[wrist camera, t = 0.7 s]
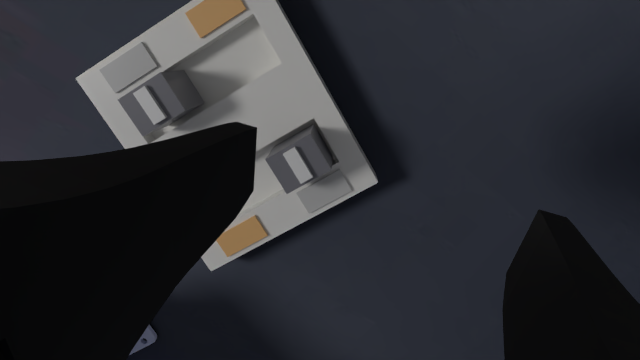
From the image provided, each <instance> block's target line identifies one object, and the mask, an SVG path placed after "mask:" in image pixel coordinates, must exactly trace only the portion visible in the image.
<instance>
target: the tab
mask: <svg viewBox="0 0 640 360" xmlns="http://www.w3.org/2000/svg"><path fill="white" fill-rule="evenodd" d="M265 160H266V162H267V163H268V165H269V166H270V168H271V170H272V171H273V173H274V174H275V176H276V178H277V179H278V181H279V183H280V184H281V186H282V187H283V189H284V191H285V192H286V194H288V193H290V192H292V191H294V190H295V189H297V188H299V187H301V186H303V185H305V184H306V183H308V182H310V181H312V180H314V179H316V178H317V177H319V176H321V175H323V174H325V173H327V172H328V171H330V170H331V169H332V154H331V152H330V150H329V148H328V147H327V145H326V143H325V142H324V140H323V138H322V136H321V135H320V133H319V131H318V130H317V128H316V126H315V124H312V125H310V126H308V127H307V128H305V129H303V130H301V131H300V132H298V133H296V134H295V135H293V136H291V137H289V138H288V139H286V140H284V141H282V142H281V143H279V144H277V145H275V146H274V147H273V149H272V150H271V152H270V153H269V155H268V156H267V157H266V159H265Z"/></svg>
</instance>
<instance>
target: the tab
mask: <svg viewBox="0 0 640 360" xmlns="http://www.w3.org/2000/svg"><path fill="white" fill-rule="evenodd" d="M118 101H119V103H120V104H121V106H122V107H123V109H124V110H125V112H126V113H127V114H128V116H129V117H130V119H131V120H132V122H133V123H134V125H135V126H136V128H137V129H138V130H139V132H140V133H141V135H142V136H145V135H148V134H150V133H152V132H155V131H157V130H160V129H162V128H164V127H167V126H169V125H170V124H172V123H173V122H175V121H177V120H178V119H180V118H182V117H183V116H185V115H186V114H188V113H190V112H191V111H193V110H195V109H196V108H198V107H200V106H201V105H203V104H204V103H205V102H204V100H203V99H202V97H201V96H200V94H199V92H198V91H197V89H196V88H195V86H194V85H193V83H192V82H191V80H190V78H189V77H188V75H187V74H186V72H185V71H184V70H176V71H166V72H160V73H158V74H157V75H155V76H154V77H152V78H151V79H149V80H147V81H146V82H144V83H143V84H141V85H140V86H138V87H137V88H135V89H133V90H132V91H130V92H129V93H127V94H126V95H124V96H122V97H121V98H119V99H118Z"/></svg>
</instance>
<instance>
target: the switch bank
mask: <svg viewBox="0 0 640 360" xmlns="http://www.w3.org/2000/svg"><path fill="white" fill-rule="evenodd" d="M176 70H184V71H185V72H186V74H187V75H188V77H189V78H190V80H191V82H192V83H193V85H194V86H195V88H196V89H197V91H198V92H199V94H200V96H201V97H202V99H203V100H204V102H205V103H204V104H203V105H201V106H200V107H198V108H196V109H195V110H193V111H191V112H190V113H188V114H186V115H185V116H183V117H182V118H180V119H178V120H177V121H175V122H173V123H172V124H170V125H169V126H167V127H164V128H162V129H160V130H157V131H155V132H152V133H150V134H148V135H145V136H142V135H141V133H140V132H139V130H138V129H137V128H136V126H135V125H134V123H133V122H132V120H131V119H130V117H129V116H128V114H127V113H126V112H125V110H124V109H123V107H122V106H121V104H120V103H119V101H118V99H119V98H121V97H122V96H124V95H126V94H127V93H129V92H130V91H132V90H133V89H135V88H137V87H138V86H140V85H141V84H143V83H144V82H146V81H147V80H149V79H151V78H152V77H154V76H155V75H157V74H158V73H160V72H166V71H176ZM76 80H77V81H78V83H79V84H80V86H81V87H82V88H83V90H84V91H85V93H86V94H87V96H88V97H89V98H90V100H91V101H92V103H93V104H94V105H95V107H96V108H97V110H98V111H99V113H100V114H101V115H102V117H103V118H104V120H105V121H106V123H107V124H108V125H109V127H110V128H111V130H112V131H113V133H114V134H115V135H116V137H117V138H118V140H119V141H120V142H121V144H122V145H123V147H124V148H125V149H128V148H133V147H137V146H141V145H145V144H149V143H154V142H158V141H162V140H166V139H170V138H174V137H178V136H181V135H185V134H188V133H192V132H196V131H199V130H203V129H206V128H210V127H214V126H218V125H222V124H226V123H231V122H240V123H243V124H247V125H250V126H253V127H257V140H256V157H255V175H254V191H253V192H252V194H251V195H250V197H249V199H248V200H247V202H246V203H245V205H244V207H243V208H242V210H241V211H240V212H239V214H238V215H237V217H236V218H235V219H234V221H233V222H232V223H231V224H230V225H229V226H228V227H227V229H226V230H225V231H224V232H223V233H222V234H221V235H220V237H219V238H218V239H217V240H216V241H215V242H214V243H213V244H212V246H211V247H210V248H209V249H208V250H207V251H206V252H205V253H204V254H203V256H202V257H201V258H202V259H203V261H204V262H205V263H206V265H207V266H208V268H209V269H210V271H213V270H215V269H217V268H218V267H220V266H222V265H224V264H226V263H228V262H230V261H232V260H233V259H235V258H237V257H239V256H241V255H243V254H245V253H247V252H249V251H250V250H252V249H254V248H256V247H258V246H260V245H262V244H264V243H265V242H267V241H269V240H271V239H273V238H275V237H277V236H279V235H281V234H282V233H284V232H286V231H288V230H290V229H292V228H294V227H296V226H297V225H299V224H301V223H303V222H305V221H307V220H309V219H311V218H313V217H314V216H316V215H318V214H320V213H322V212H324V211H326V210H328V209H329V208H331V207H333V206H335V205H337V204H339V203H341V202H343V201H345V200H346V199H348V198H350V197H352V196H354V195H356V194H358V193H360V192H361V191H363V190H365V189H367V188H369V187H371V186H373V185H375V184H376V183H378V180H377V177H376V173H375V171H374V170H373V168H372V166H371V164H370V162H369V161H368V159H367V157H366V155H365V154H364V152H363V150H362V148H361V146H360V145H359V143H358V141H357V139H356V138H355V136H354V134H353V132H352V131H351V129H350V127H349V125H348V123H347V122H346V120H345V118H344V116H343V115H342V113H341V111H340V109H339V107H338V106H337V104H336V102H335V100H334V99H333V97H332V95H331V93H330V91H329V90H328V88H327V86H326V84H325V83H324V81H323V79H322V77H321V75H320V74H319V72H318V70H317V68H316V67H315V65H314V63H313V61H312V60H311V58H310V56H309V54H308V52H307V51H306V49H305V47H304V45H303V44H302V42H301V40H300V38H299V36H298V35H297V33H296V31H295V29H294V28H293V26H292V24H291V22H290V20H289V19H288V17H287V15H286V13H285V12H284V10H283V8H282V6H281V5H280V3H279V1H278V0H192V1H191V2H189V3H188V4H186V5H185V6H183V7H182V8H180V9H179V10H177V11H176V12H174V13H173V14H171V15H170V16H168V17H167V18H165V19H164V20H162V21H161V22H159V23H158V24H156V25H155V26H153V27H152V28H150V29H149V30H147V31H146V32H144V33H143V34H141V35H140V36H138V37H137V38H135V39H134V40H132V41H131V42H129V43H128V44H126V45H125V46H123V47H122V48H120V49H119V50H117V51H116V52H114V53H113V54H111V55H110V56H108V57H107V58H105V59H104V60H102V61H101V62H99V63H98V64H96V65H95V66H93V67H92V68H90V69H89V70H87V71H86V72H84V73H83V74H81V75H80V76H78V77H77V78H76ZM312 124H315V126H316V128H317V130H318V131H319V133H320V135H321V136H322V138H323V140H324V142H325V143H326V145H327V147H328V148H329V150H330V152H331V154H332V169H331V170H330V171H328V172H327V173H325V174H323V175H321V176H319V177H317V178H316V179H314V180H312V181H310V182H308V183H306V184H305V185H303V186H301V187H299V188H297V189H295V190H294V191H292V192H290V193H288V194H286V192H285V191H284V189H283V187H282V186H281V184H280V183H279V181H278V179H277V178H276V176H275V174H274V173H273V171H272V170H271V168H270V166H269V165H268V163H267V162H266V160H265V159H266V157H267V156H268V155H269V153H270V152H271V150H272V149H273V147H274V146H275V145H277V144H279V143H281V142H282V141H284V140H286V139H288V138H289V137H291V136H293V135H295V134H296V133H298V132H300V131H301V130H303V129H305V128H307V127H308V126H310V125H312Z"/></svg>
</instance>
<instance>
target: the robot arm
mask: <svg viewBox="0 0 640 360" xmlns="http://www.w3.org/2000/svg"><path fill="white" fill-rule="evenodd" d="M256 140H257V127H253V126H250V125H247V124H243V123H240V122H231V123H226V124H222V125H218V126H214V127H210V128H206V129H203V130H199V131H196V132H192V133H188V134H185V135H181V136H178V137H174V138H170V139H166V140H162V141H158V142H154V143H149V144H145V145H141V146H137V147H133V148H128V149H123V150H117V151H112V152H106V153H99V154H93V155H86V156H77V157H66V158H55V159H44V160H31V161H3V162H0V360H126V359H127V357H128V356H129V355H131V354H133V353H135V352H137V351H139V350H141V349H143V348H145V347H146V346H148V345H150V344H152V343H154V342H155V341H156V339H157V334H156V333H155V331H154V330H153V329H152V327H151V326H150V325H149V324H150V323H151V321H152V320H153V318H154V317H155V315H156V314H157V312H158V311H159V309H160V308H161V307H162V305H163V304H164V302H165V301H166V300H167V298H168V297H169V295H170V294H171V293H172V291H173V290H174V288H175V287H176V286H177V284H178V283H179V282H180V281H181V280H182V278H183V277H184V276H185V275H186V273H187V272H188V271H189V270H190V269H191V268H192V267H193V266H194V264H195V263H196V262H197V261H198V260H199V259H200V258H201V257H202V256H203V254H204V253H205V252H206V251H207V250H208V249H209V248H210V247H211V246H212V244H213V243H214V242H215V241H216V240H217V239H218V238H219V237H220V235H221V234H222V233H223V232H224V231H225V230H226V229H227V227H228V226H229V225H230V224H231V223H232V222H233V221H234V219H235V218H236V217H237V215H238V214H239V212H240V211H241V210H242V208H243V207H244V205H245V203H246V202H247V200H248V199H249V197H250V195H251V194H252V192H253V191H254V175H255V157H256ZM503 333H504V355H505V360H640V304H639V303H638V302H637V301H636V300H635V299H634V298H633V297H632V295H631V294H630V293H629V292H628V291H627V290H626V289H625V287H624V286H623V285H622V284H621V283H620V282H619V280H618V279H617V278H616V277H615V276H614V274H613V273H612V272H611V271H610V270H609V268H608V267H607V266H606V265H605V263H604V262H603V261H602V260H601V258H600V257H599V256H598V255H597V254H596V252H595V251H594V250H593V248H592V247H591V246H590V245H589V243H588V242H587V241H586V240H585V238H584V237H583V236H582V235H581V233H580V232H579V231H578V230H577V228H576V227H575V226H574V225H573V224H572V223H571V222H570V220H569V219H568V218H566V217H563V216H560V215H556V214H553V213H549V212H546V211H542V210H538V212H537V214H536V216H535V218H534V220H533V222H532V224H531V226H530V228H529V230H528V232H527V234H526V236H525V238H524V240H523V241H522V243H521V245H520V247H519V249H518V251H517V253H516V255H515V257H514V259H513V261H512V263H511V265H510V267H509V269H508V271H507V273H506V282H505V290H504V300H503ZM143 338H144V339H146V340H147V341H145V340H143Z"/></svg>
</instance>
